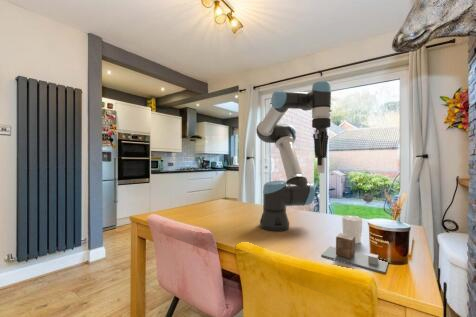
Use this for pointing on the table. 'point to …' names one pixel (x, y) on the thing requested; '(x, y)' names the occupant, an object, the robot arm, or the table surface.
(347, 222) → the white cup
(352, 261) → the stand
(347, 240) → the brown wooden block
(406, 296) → the table surface
